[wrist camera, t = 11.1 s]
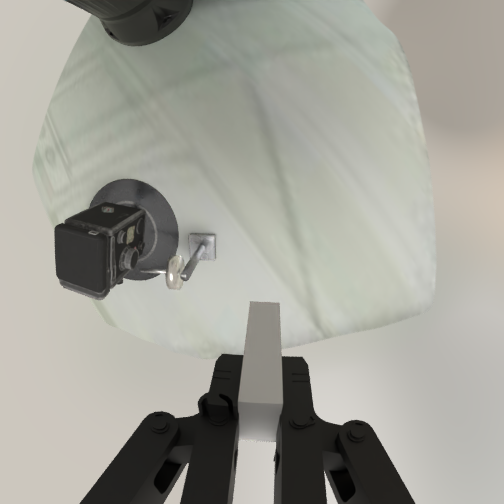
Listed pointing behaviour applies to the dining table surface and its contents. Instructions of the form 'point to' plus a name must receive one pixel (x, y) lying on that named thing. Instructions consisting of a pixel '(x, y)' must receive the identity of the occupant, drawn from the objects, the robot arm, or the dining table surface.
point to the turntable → (156, 227)
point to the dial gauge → (199, 250)
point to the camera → (99, 248)
